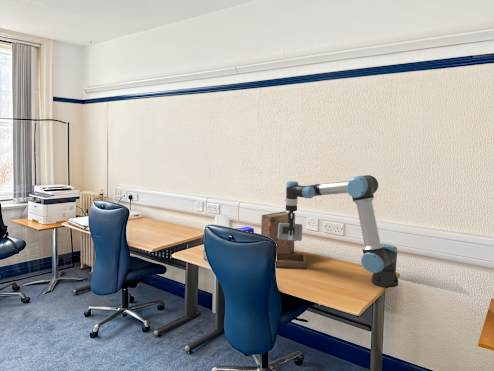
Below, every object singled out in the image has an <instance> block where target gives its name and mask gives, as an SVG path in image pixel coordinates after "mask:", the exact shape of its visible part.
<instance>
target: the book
mask: <svg viewBox="0 0 494 371" xmlns="http://www.w3.org/2000/svg"><path fill="white" fill-rule="evenodd" d="M288 213H289V212H288V211H286V210H284V211H277V212H274V213H268V214H267V213H266V214H261V222H260V223H261V225H260V226H261V230H260V232H261V233H260V234H261V235H264V236H267V237H270V238H272V239H273V240H274V241H275V242H276V244H277V254H295V241H289V240H282V239H278V225H279V223H289V219H288ZM293 213H294V220H293V224H296V213H295V212H293ZM261 235H260V236H261Z"/></svg>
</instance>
